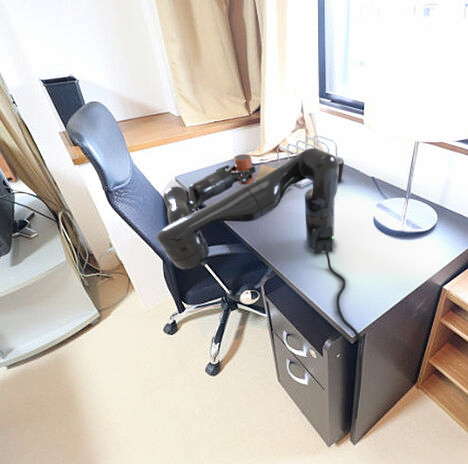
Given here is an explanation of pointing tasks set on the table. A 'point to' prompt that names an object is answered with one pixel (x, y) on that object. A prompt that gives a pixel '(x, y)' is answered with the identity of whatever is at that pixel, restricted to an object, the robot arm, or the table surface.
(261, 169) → the wooden stand
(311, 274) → the table surface
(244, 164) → the orange cylinder
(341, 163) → the coffee mug
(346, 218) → the table surface
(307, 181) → the file sorter
